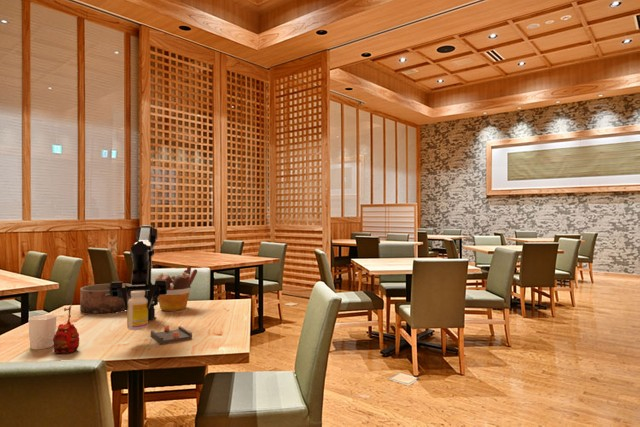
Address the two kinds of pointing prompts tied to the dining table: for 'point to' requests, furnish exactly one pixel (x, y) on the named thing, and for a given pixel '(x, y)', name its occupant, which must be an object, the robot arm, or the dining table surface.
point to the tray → (171, 335)
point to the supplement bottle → (137, 311)
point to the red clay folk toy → (66, 337)
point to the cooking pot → (100, 300)
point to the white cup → (42, 331)
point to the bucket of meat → (176, 290)
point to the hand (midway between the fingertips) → (137, 308)
